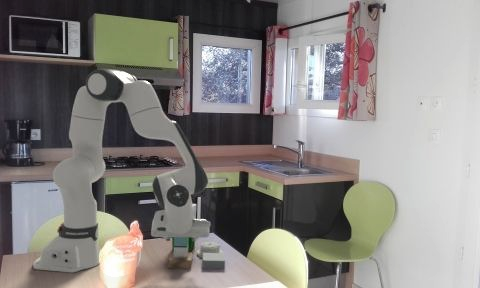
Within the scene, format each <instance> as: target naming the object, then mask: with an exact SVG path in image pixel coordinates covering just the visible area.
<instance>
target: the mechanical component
mask: <svg viewBox="0 0 480 288" xmlns="http://www.w3.org/2000/svg"><path fill="white" fill-rule="evenodd" d="M220 247H221V246H220V244H219V242H218V243H217V242H215V241H205V242H202V243H200V248H199V249H197V251H196V254H197V256H198V257H199V258H202V259H203V253H223V250H222V249H220Z"/></svg>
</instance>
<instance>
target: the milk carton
mask: <svg viewBox="0 0 480 288" xmlns="http://www.w3.org/2000/svg"><path fill="white" fill-rule="evenodd" d="M197 204H198V203H192V205H193V210H192V212H193V219H197ZM171 239H172V243H171V246H172V251H174V237H171ZM195 243H196V241H192V237H189V241H188V252H189V253H190V251H192V250H193V249H194V248H195V245H196V244H195Z"/></svg>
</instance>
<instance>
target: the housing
mask: <svg viewBox="0 0 480 288" xmlns="http://www.w3.org/2000/svg"><path fill="white" fill-rule="evenodd" d="M188 241H189V237H174V250H173V252H174V258H188Z"/></svg>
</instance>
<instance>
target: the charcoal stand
mask: <svg viewBox="0 0 480 288" xmlns="http://www.w3.org/2000/svg"><path fill="white" fill-rule="evenodd" d="M201 267H202V270H203V269H204V270H206V269H207V270H208V269H210V270H211V269H213V270H214V269H216V270H217V269H218V270H222V269H223V270H225V268H226V257H225V252H222V253H203V258H202V265H201Z"/></svg>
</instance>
